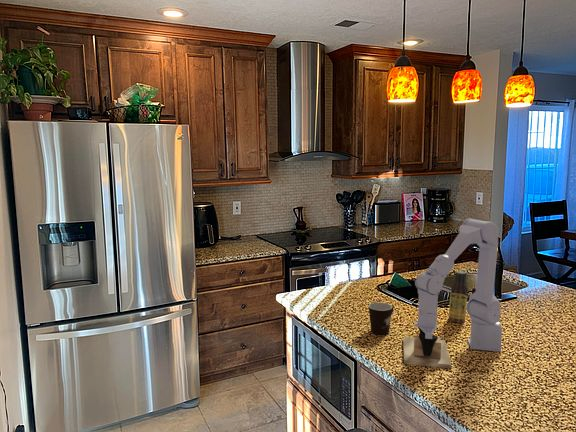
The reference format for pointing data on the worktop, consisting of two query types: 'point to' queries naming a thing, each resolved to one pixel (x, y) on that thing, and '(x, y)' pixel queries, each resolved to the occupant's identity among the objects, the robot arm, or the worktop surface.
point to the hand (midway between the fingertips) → (426, 351)
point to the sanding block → (419, 351)
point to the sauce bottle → (458, 298)
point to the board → (410, 359)
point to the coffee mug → (380, 318)
